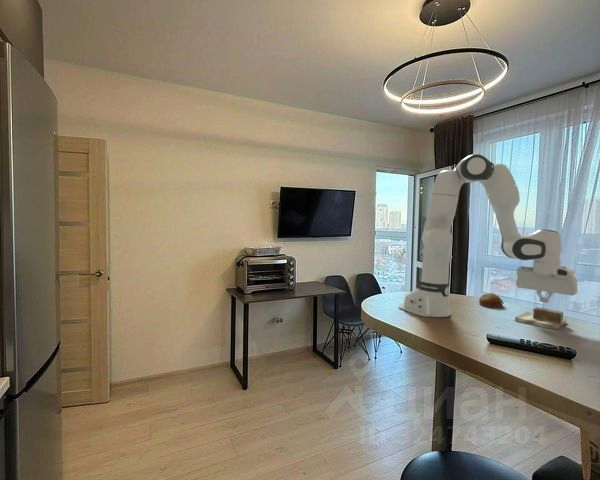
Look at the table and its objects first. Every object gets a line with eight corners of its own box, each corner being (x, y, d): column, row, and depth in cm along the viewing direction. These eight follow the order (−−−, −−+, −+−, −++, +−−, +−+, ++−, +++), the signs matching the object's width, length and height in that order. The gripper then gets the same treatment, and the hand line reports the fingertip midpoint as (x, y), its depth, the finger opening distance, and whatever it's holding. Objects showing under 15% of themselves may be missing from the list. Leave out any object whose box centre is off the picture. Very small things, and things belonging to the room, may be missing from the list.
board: (515, 320, 136) (515, 317, 136) (525, 314, 145) (526, 311, 145) (556, 329, 125) (556, 326, 125) (565, 322, 134) (565, 319, 134)
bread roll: (492, 310, 165) (487, 294, 168) (510, 306, 156) (504, 290, 158) (478, 311, 162) (473, 295, 164) (494, 308, 153) (489, 291, 155)
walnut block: (533, 308, 135) (561, 313, 128) (536, 307, 137) (563, 311, 130) (533, 317, 135) (560, 323, 128) (535, 316, 138) (563, 321, 130)
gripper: (514, 266, 139) (512, 298, 140) (576, 272, 123) (573, 308, 124) (519, 265, 143) (517, 295, 144) (579, 271, 127) (577, 305, 128)
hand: (544, 301), depth 134 cm, fingers closed
